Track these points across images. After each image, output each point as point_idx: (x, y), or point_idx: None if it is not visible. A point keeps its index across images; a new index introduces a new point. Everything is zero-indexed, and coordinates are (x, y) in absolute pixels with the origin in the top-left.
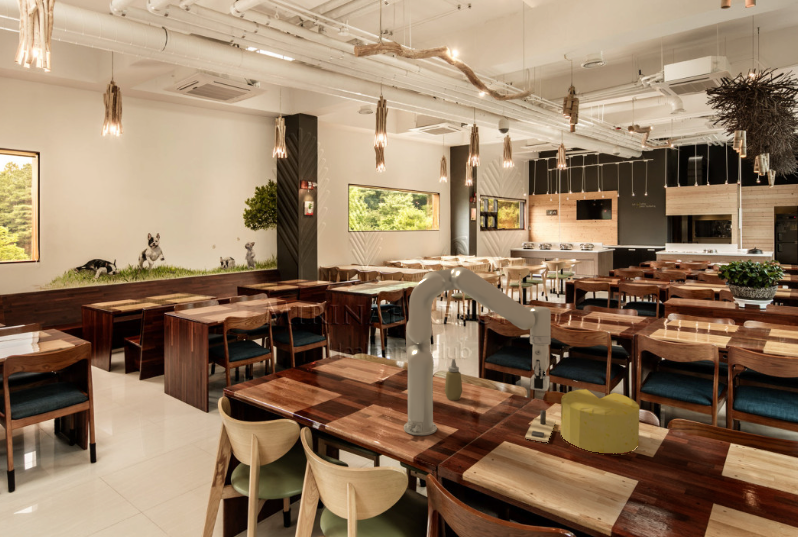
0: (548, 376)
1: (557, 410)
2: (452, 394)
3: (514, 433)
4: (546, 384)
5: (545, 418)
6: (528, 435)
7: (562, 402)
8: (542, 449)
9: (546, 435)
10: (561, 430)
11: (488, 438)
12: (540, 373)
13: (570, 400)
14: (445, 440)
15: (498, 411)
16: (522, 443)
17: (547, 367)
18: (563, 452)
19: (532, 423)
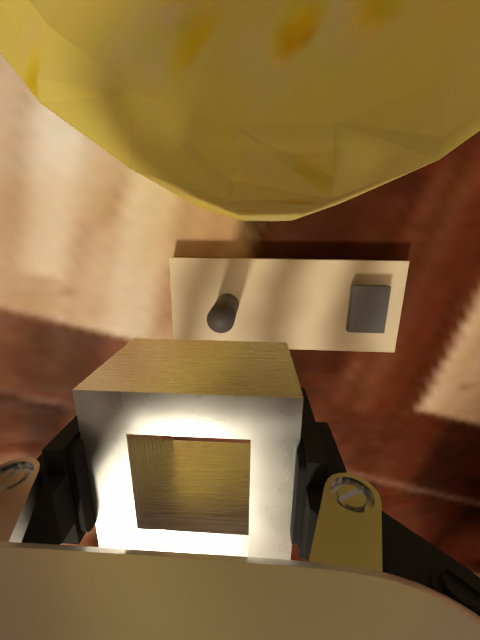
0: (97, 398)
1: (6, 268)
2: None
3: (337, 390)
4: (296, 375)
5: (228, 299)
6: (379, 341)
7: (372, 184)
8: (465, 273)
9: (355, 274)
10: (309, 213)
11: (412, 458)
12: (71, 510)
13: (467, 74)
14: (465, 560)
15: None
16: (425, 350)
17: (139, 598)
18: (477, 186)
19: None
